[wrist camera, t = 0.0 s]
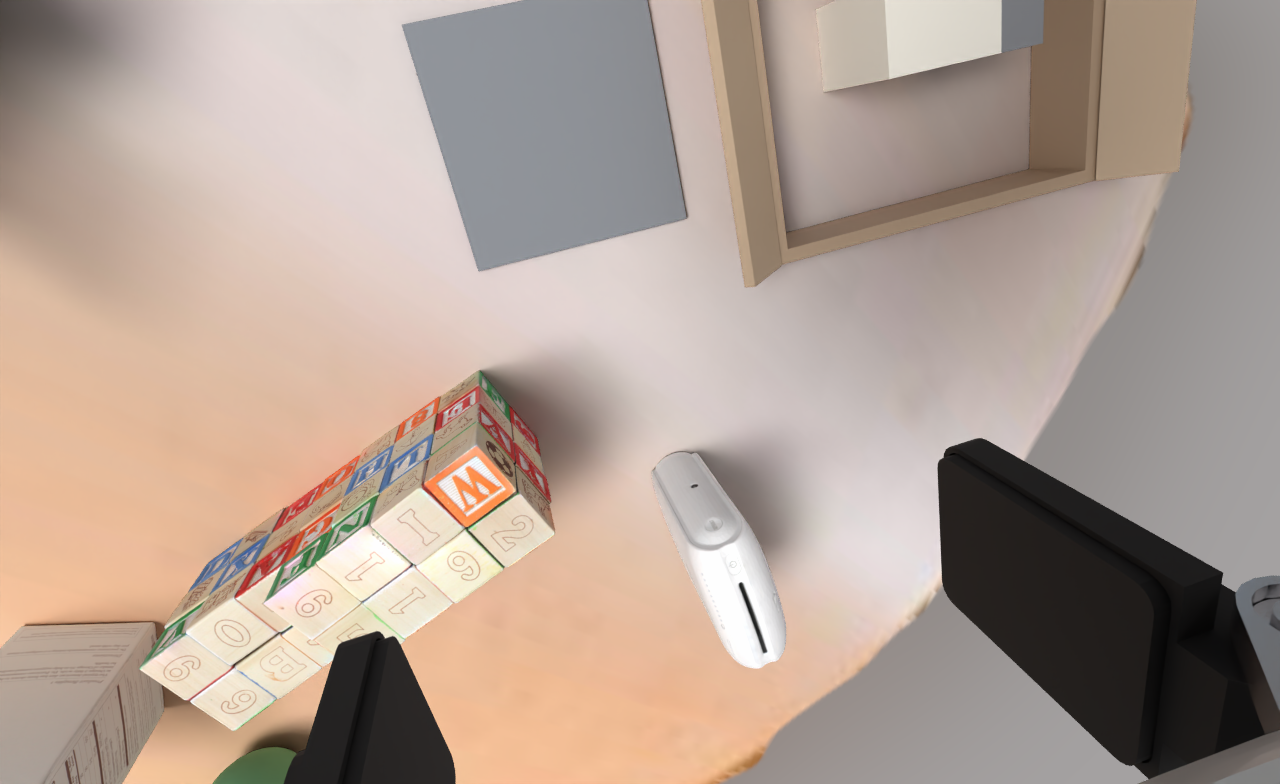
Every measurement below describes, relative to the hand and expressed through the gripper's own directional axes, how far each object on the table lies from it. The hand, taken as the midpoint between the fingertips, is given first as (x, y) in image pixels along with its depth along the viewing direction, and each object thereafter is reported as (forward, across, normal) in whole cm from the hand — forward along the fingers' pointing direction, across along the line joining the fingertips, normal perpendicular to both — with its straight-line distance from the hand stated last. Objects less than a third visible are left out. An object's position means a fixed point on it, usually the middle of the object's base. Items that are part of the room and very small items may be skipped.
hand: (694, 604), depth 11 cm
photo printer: (+32, -6, +19) cm, 37 cm away
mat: (+31, -3, -8) cm, 32 cm away
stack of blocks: (+32, +14, +11) cm, 36 cm away
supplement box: (+32, +34, +17) cm, 49 cm away
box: (+31, -24, -9) cm, 40 cm away
